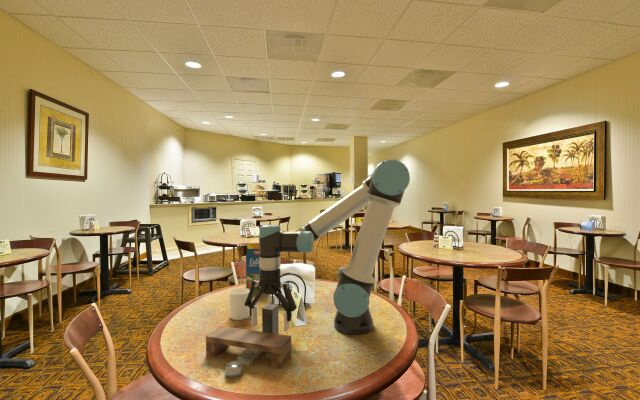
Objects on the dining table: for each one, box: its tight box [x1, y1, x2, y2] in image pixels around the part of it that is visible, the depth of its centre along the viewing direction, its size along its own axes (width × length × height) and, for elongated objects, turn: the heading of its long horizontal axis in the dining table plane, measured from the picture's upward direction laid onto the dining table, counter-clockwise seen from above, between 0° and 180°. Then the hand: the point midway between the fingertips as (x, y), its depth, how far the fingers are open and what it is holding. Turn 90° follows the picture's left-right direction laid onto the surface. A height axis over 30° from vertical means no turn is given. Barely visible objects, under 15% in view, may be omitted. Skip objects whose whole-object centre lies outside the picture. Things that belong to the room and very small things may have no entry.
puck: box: [224, 360, 244, 380], centre depth 88 cm, size 5×5×2 cm
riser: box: [205, 325, 292, 370], centre depth 98 cm, size 26×8×6 cm, turn 73°
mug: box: [228, 287, 258, 321], centre depth 129 cm, size 9×12×11 cm
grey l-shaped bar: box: [237, 303, 280, 366], centre depth 103 cm, size 21×4×11 cm, turn 163°
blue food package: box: [245, 243, 261, 292], centre depth 166 cm, size 6×12×25 cm, turn 89°
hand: (270, 327), depth 110 cm, fingers open, 12 cm apart
